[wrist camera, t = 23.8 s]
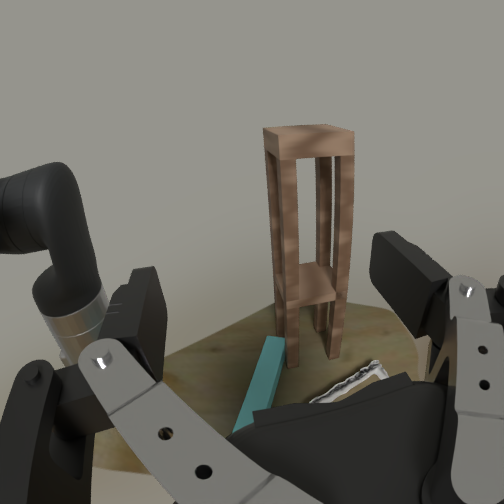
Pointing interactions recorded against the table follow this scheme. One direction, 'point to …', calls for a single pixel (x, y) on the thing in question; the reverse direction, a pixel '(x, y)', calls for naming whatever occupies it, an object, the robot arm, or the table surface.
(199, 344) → the table surface
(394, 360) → the table surface
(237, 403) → the table surface
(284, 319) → the walnut stand
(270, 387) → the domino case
